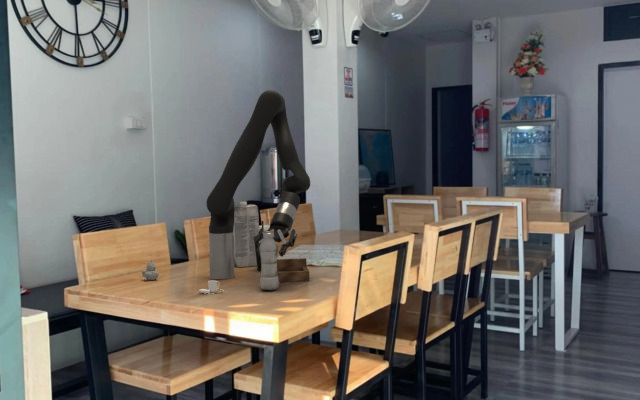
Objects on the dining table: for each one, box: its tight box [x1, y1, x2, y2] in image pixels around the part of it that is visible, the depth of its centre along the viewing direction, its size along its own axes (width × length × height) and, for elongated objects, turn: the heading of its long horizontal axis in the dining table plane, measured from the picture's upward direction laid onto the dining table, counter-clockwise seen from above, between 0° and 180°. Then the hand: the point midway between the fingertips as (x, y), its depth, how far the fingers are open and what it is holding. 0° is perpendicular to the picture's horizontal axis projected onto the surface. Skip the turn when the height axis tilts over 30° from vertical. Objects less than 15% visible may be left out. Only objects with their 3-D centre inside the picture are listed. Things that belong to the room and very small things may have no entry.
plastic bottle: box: [259, 232, 280, 291], centre depth 219 cm, size 6×7×20 cm
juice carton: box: [233, 201, 260, 268], centre depth 269 cm, size 9×10×27 cm
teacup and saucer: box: [198, 279, 225, 295], centre depth 218 cm, size 9×8×4 cm
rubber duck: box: [140, 259, 160, 281], centre depth 241 cm, size 5×7×8 cm
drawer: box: [277, 257, 310, 283], centre depth 239 cm, size 14×12×7 cm
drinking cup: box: [253, 220, 264, 272], centre depth 257 cm, size 8×8×20 cm
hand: (269, 254), depth 219 cm, fingers open, 8 cm apart
